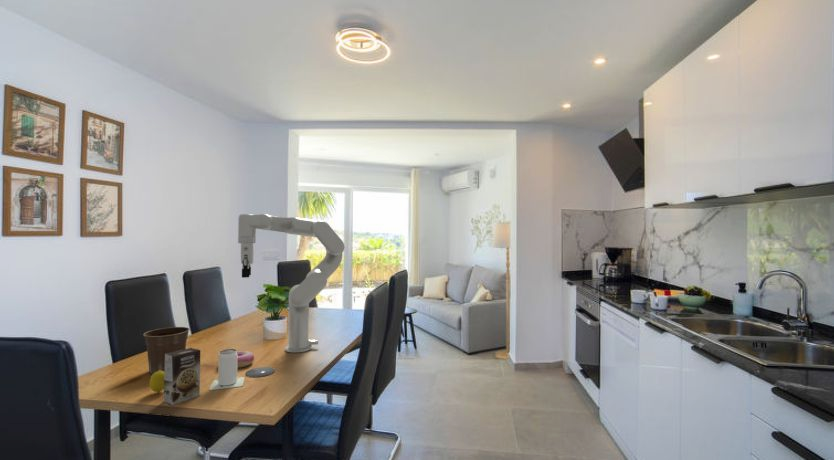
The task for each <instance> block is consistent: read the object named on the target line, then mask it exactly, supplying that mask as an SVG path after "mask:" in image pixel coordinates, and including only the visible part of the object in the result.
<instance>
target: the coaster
mask: <svg viewBox="0 0 834 460" xmlns="http://www.w3.org/2000/svg"><path fill="white" fill-rule="evenodd" d="M275 371H276V370H275V368H273V367H271V366H261V367H260V366H259V367H255V368H251V369H248V370H247V371H246V372H245V375H246V376H247V377H248V376H249V377H248V378H262V376H264V377H267V375H268V376H270V375H273V374H274V373H275ZM246 376H245V377H246Z"/></svg>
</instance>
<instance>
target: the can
mask: <svg viewBox="0 0 834 460" xmlns="http://www.w3.org/2000/svg"><path fill="white" fill-rule="evenodd" d="M236 351H237V349H234V348H227V349H222V350H220V351H219V354H218V361H217V363H218V365H217V368H218V369H217V370H218V371H217V372H218V374H217V375H218V376H217V380H218V384H219V385H221V386H228V385H232V384H235V383H236V382H237V378H238V368H237V352H236Z"/></svg>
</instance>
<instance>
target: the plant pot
mask: <svg viewBox="0 0 834 460" xmlns="http://www.w3.org/2000/svg"><path fill="white" fill-rule="evenodd" d="M190 330H191V329H190V328H189V327H185V326H171V327H170V326H169V327H163V328H162V327H161V328H156V329H153V330H148V331H146V332H144V333H143V334H142V335H143V337H144V342H145V345H146V351H147V360H148V362H147V363H148V371H149V374H151V375H153V374H154V373H155V372H157V371H158V370H161V371H164V372H165V354H166V353H170V352H175V351H179V350H184V349H187V340H188V337H189V331H190Z"/></svg>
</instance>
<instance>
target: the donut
mask: <svg viewBox="0 0 834 460" xmlns="http://www.w3.org/2000/svg"><path fill="white" fill-rule="evenodd" d="M236 352H237V369H239V368H243V367H247V366H250V365H251V364H252V363H254V359H255V356H254V353H252V352H251V351H248V350H239V351H238V350H236Z"/></svg>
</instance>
